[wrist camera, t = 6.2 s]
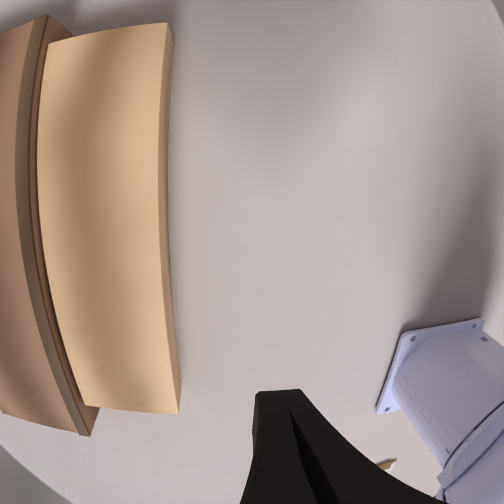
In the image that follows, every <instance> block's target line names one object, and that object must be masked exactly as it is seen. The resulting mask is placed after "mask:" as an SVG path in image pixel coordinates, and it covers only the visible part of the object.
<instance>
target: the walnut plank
mask: <svg viewBox="0 0 504 504" xmlns="http://www.w3.org/2000/svg"><path fill="white" fill-rule="evenodd" d="M71 35H72V34H71V33H70V32H68V31H67V30H66V29H65V28H64V27H62V26H61V25H60V24H59V23H57V22H56V21H55V20H54V19H52V18H51V17H50V16H49V15H48V14H47V15H44V16H41V17H38V18H35V19H34V21H31V22H28V23H25V24H23V25H20V26H18V27H15V28H13V29H10V30H8V31H5V32H3V33H1V34H0V409H1V411H2V413H5V414H8V415H11V416H14V417H17V418H20V419H23V420H27V421H30V422H34V423H38V424H41V425H45V426H49V427H53V428H57V429H62V430H66V431H71V432H76V433H79V435H83V436H88V437H90V435H91V432H92V429H93V426H94V423H95V420H96V417H97V415H98V412H99V409H100V407H94V406H88V405H85V403H84V401H83V398H82V396H81V393H80V390H79V388H78V385H77V382H76V379H75V377H74V374H73V371H72V368H71V365H70V362H69V359H68V356H67V352H66V349H65V346H64V342H63V339H62V335H61V332H60V328H59V324H58V320H57V316H56V312H55V308H54V304H53V299H52V294H51V290H50V285H49V279H48V274H47V268H46V262H45V256H44V249H43V241H42V233H41V224H40V213H39V200H38V179H37V140H38V119H39V106H40V96H41V87H42V79H43V72H44V66H45V60H46V54H47V49H48V44H50V43H53V42H57V41H60V40H64V39H68V38H71Z"/></svg>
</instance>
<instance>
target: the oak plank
mask: <svg viewBox="0 0 504 504" xmlns="http://www.w3.org/2000/svg"><path fill="white" fill-rule="evenodd" d="M173 52H174V40H173V37H172V34H171V31H170V28H169V26H168V23H167V22H166V23H154V24H144V25H136V26H128V27H122V28H115V29H109V30H104V31H99V32H94V33H89V34H84V35H80V36H76V37H72V38H68V39H64V40H60V41H57V42H53V43H50V44H48V49H47V54H46V60H45V66H44V72H43V79H42V87H41V96H40V106H39V119H38V140H37V179H38V200H39V213H40V224H41V233H42V241H43V249H44V256H45V262H46V268H47V274H48V279H49V285H50V290H51V294H52V299H53V304H54V308H55V312H56V316H57V320H58V324H59V328H60V332H61V335H62V339H63V342H64V346H65V349H66V352H67V356H68V359H69V362H70V365H71V368H72V371H73V374H74V377H75V379H76V382H77V385H78V388H79V390H80V393H81V396H82V398H83V401H84V403H85V405H88V406H94V407H102V408H109V409H118V410H127V411H138V412H151V413H169V414H179V404H180V395H181V380H180V372H179V364H178V355H177V346H176V337H175V327H174V316H173V304H172V291H171V276H170V258H169V234H168V128H169V106H170V89H171V75H172V63H173Z"/></svg>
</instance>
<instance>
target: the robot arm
mask: <svg viewBox="0 0 504 504" xmlns="http://www.w3.org/2000/svg"><path fill="white" fill-rule="evenodd" d="M483 325H484V319H482V318H476V319H471V320H467V321H462V322H457V323H452V324H447V325H441V326H436V327H430V328H424V329H418V330H412V331H407V332H404V333H403V334H402V335H401V337H400V340H399V343H398V347H397V350H396V353H395V356H394V359H393V362H392V365H391V368H390V371H389V374H388V377H387V380H386V383H385V386H384V388H383V391H382V394H381V396H380V399H379V402H378V404H377V407H376V409H375V411H376V413H377V414H378V415H381V414H385V413H389V412H392V411H396V410H400V409H402V411H403V412H404V413H405V415H406V416H407V418H408V419H409V420H410V422H411V423H412V425H413V426H414V428H415V429H416V431H417V432H418V433H419V435H420V436H421V438H422V439H423V441H424V442H425V444H426V445H427V446H428V448H429V449H430V451H431V452H432V454H433V455H434V457H435V458H436V460H437V461H438V463H439V464H440V466H441V467H442V469H443V471H442V472H441V473H440V474H439V475H438V476H437V479H438V481H439V482H440V484H441V487H440V488H439V490H438V492H437V496H436V498H433V497H431V496H429V495H427V494H425V493H423V492H421V491H419V490H416V489H414V488H412V487H410V486H408V485H407V484H405V483H403V482H401V481H400V480H398V479H396V478H395V477H393V476H392V475H390V474H389V473H387V472H386V471H384V470H383V469H381V468H380V467H378V466H377V465H376V464H374V463H373V462H372V461H370V460H369V459H368V458H367V457H365V456H364V455H363V454H362V453H361V452H360V451H358V450H357V449H356V448H355V447H354V446H353V445H352V444H350V443H349V442H348V441H347V440H346V439H345V438H344V437H343V436H342V435H341V434H340V433H339V432H338V431H337V430H336V429H335V428H334V427H333V426H332V425H331V424H330V423H329V422H328V421H327V420H326V418H325V417H324V416H323V415H322V414H321V413H320V412H319V411H318V410H317V408H316V407H315V406H314V405H313V404H312V403H311V401H310V400H309V399H308V398H307V397H306V395H305V394H304V393H303V392H302V391H301V390H300V389H291V390H277V391H260V392H258V393H257V394H256V395H255V406H254V417H253V428H252V435H253V459H252V463H251V468H250V472H249V476H248V479H247V483H246V486H245V489H244V492H243V496H242V499H241V501H240V504H504V347H503V346H502V345H501V344H499V343H498V342H497V341H496V340H494V339H493V338H492V337H490V336H489V335H488V334H486V333H485V332H484V331H483V330H482V328H483Z"/></svg>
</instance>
